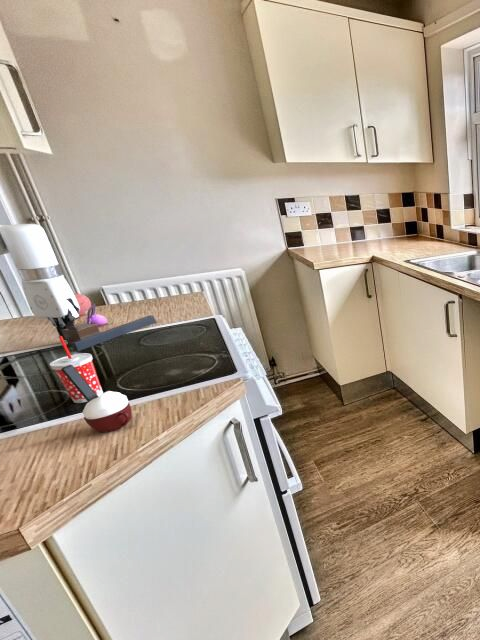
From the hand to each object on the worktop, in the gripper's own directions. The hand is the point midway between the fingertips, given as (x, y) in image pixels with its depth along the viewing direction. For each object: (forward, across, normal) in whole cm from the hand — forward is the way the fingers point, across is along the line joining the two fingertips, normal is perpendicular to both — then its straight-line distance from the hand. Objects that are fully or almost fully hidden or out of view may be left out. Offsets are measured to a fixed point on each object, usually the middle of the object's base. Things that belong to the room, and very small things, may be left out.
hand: (70, 338), depth 116 cm
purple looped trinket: (+1, -6, +12) cm, 13 cm away
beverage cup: (+1, +38, -26) cm, 46 cm away
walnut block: (+1, +5, 0) cm, 5 cm away
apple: (+2, -24, +20) cm, 31 cm away
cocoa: (+1, +54, -34) cm, 63 cm away
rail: (+1, +8, +6) cm, 10 cm away
